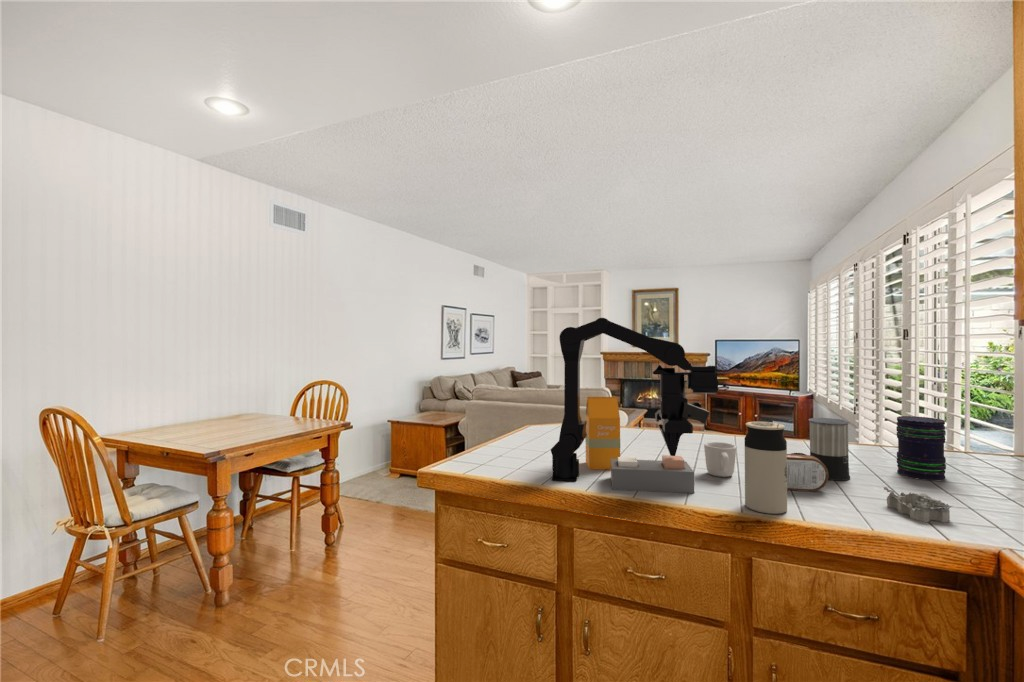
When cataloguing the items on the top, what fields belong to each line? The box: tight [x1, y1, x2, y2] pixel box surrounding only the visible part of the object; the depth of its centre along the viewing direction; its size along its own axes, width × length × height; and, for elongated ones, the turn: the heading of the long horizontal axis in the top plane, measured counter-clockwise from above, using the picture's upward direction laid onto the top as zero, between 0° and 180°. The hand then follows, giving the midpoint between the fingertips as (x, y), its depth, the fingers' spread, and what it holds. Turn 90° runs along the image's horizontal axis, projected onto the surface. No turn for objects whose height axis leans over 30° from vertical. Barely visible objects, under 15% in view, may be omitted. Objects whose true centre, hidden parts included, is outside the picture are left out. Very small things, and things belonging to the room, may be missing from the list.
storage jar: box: [896, 415, 947, 481], centre depth 125 cm, size 10×10×15 cm
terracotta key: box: [661, 455, 685, 469], centre depth 117 cm, size 5×5×4 cm
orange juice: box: [584, 396, 621, 470], centre depth 136 cm, size 8×9×20 cm
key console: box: [610, 459, 695, 494], centre depth 117 cm, size 19×10×5 cm, turn 80°
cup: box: [703, 441, 737, 478], centre depth 125 cm, size 11×8×8 cm
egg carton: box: [883, 486, 954, 523], centre depth 98 cm, size 11×8×4 cm
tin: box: [787, 453, 829, 492], centre depth 114 cm, size 15×3×8 cm, turn 77°
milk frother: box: [790, 417, 851, 481], centre depth 128 cm, size 14×16×15 cm
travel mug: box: [744, 421, 788, 515], centre depth 101 cm, size 8×8×18 cm
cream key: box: [618, 456, 638, 467], centre depth 118 cm, size 5×5×4 cm
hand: (672, 455), depth 117 cm, fingers closed
